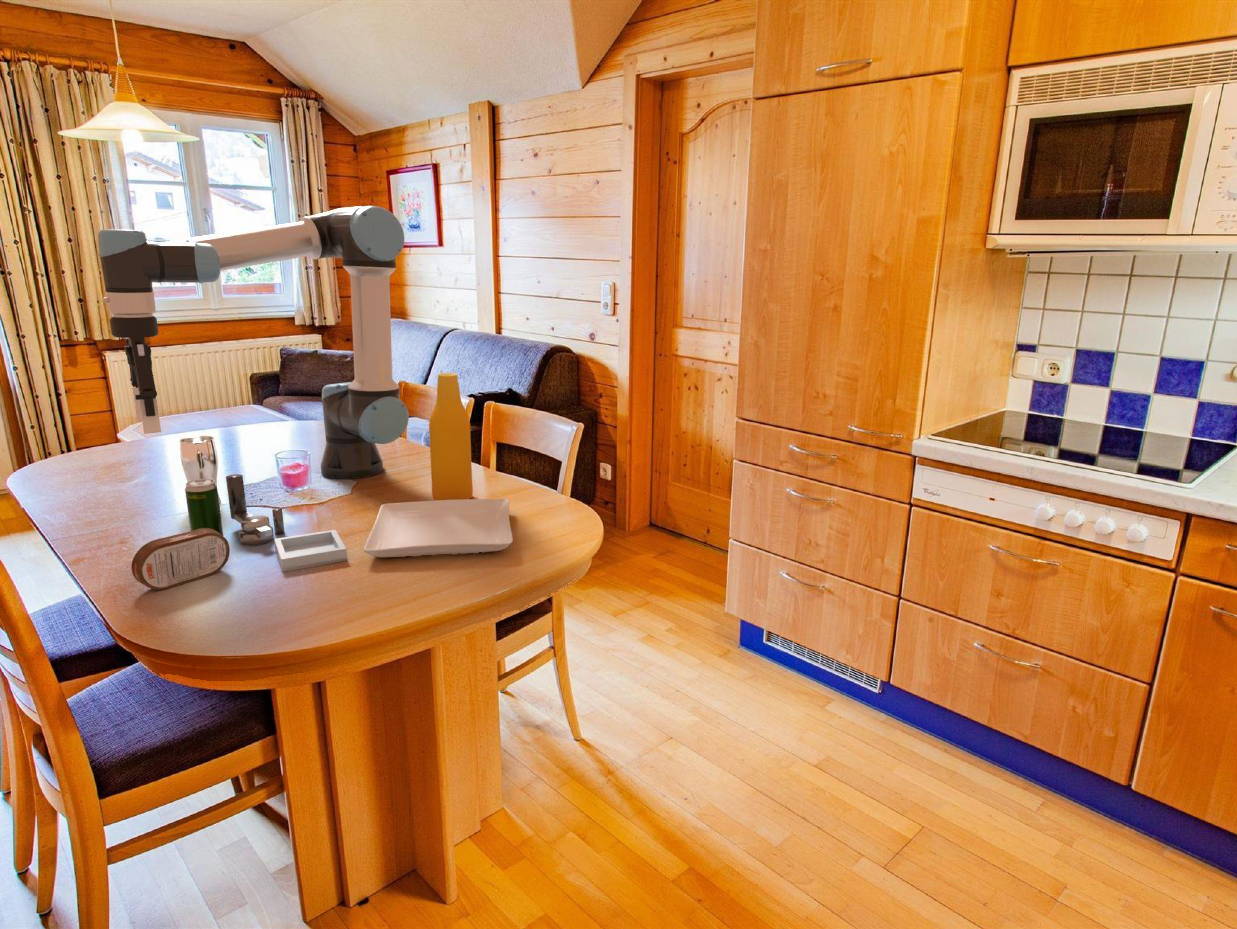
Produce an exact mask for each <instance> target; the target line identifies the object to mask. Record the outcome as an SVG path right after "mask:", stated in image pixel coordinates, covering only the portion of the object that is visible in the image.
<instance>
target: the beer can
mask: <svg viewBox="0 0 1237 929" xmlns="http://www.w3.org/2000/svg"><path fill="white" fill-rule="evenodd" d="M217 485H218V484H217ZM217 485H216V484H215V480H213V479H198V480H193V481H190V482H186V483H185V488H184V492H185V500H186V505H187V506H186V507H187V513H188V520H189V521H188V522H189V528H190V531H193V530H197V529H202V528H209V529H213V530H215V531H217V532H218V533H220V534H221V535H222V536H223V537H224V531H223V530H224V529H223V522H222V515H221V513H222V512H221V507H220V504H219V498H218V494H219V491H218V486H217Z"/></svg>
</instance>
